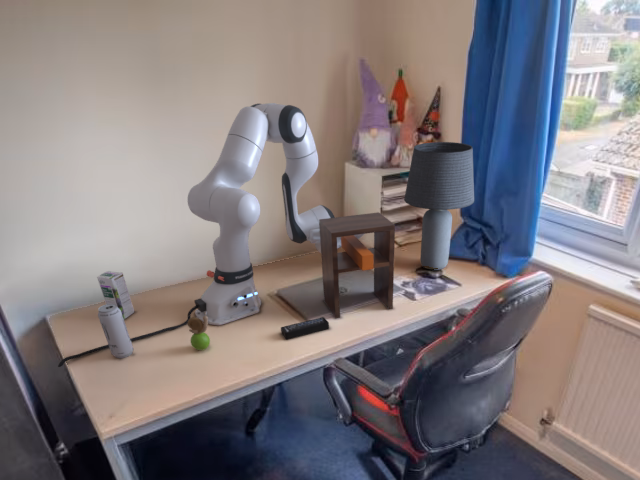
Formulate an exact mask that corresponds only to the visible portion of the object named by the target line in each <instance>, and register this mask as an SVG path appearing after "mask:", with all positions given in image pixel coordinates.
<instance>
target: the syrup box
mask: <svg viewBox="0 0 640 480" xmlns="http://www.w3.org/2000/svg"><path fill="white" fill-rule="evenodd" d="M96 278H97V281H98V285H99V287H100V290H101V293H102V296H103V299H104V302H105V305H106V304H115V305H117V307H118V308H119V309H120V310H121V313H122V316H123V319H124V320H126V319H127V318H129V317H130V316H132V315H133V314H134V313H135V309H134V306H133V302H132V299H131V295H130V292H129V289H128V285H127V281H126V279H125V275H124V273H123V272H121V271H120V272H119V271H111V270H108V271H105V272H103V273H101V274H99V275H98V276H96Z"/></svg>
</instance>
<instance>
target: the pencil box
mask: <svg viewBox="0 0 640 480" xmlns="http://www.w3.org/2000/svg"><path fill="white" fill-rule="evenodd" d="M341 248H342V250H343V252H346V253H347V254H348V255H349V256H350V257H351V258H352V260H353V261H354V262H355V263H356V264H357V265H358V266H359V267H360V268H361V270H360V271H369V270H370V271H371V270H374V268H373V257H374V255H373V254H372V253H371V252H370V251H369V250H368V248H367V246H365V244H363V242H362V241H360V239H357V238H356V237H355V236H354V235H351V236H344V237H341Z"/></svg>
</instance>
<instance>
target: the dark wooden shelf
mask: <svg viewBox="0 0 640 480" xmlns="http://www.w3.org/2000/svg"><path fill="white" fill-rule="evenodd" d="M319 225H320V241H321V253H320V255H321V268H322V269H321V270H322V271H321V272H322V285H323V286H322V287H323V301H324V303H325V305H326V306H327V307H328V309H329V311H330V312H331V315H333V317H334V318H335V319H341V307H340V281H339V274H342V273H350V272H357V271H362V270H361V268H360V267H359V266H358V265H357V264H356V263H355V262H354V261H353V260H352V258H351V257H350V256H349V255H348V254H347V253H346V252H345V251H340V252H338V249H337V237H344V236H351V235H359V234H364V235H365V234H373V247H368V248H367V249H368V250H369V251H370V252H371V253H372V254H373V255H374V257H373V293H374V295H375V296H376V297H377V298H378V299H379V301H380V302H381V303H382V304H383V305H384V306H385V307H386V309H387V310H393V308H394V278H395V277H394V276H395V275H394V273H395V240H396V237H395V236H396V224H395V223H393V222H392V221H391V220H390V219H388V218H387V217H385V215H383V214H382V213H380V212H379V211H377V212H371V213H362V214H354V215H353V214H352V215H345V216H338V217H337V216H336V217H335V218H328V219H319Z"/></svg>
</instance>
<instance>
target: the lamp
mask: <svg viewBox="0 0 640 480" xmlns="http://www.w3.org/2000/svg"><path fill="white" fill-rule="evenodd" d="M473 150H474V149H473V146H472V145H470V144H467V143H462V142H453V141H432V142H423V143H419V144H415V145H414V147H413V151H412V156H411V161H410V166H409V172H408V178H407V183H406V188H405V194H404V199H403V201H404V202H405V203H406V204H407V205H409V206H412V207H415V208H418V209H424V210H426V211H425V212H424V213H423V216H422V224H421V225H422V226H421V243H420V244H421V245H420V259H419V260H420V265H421V266H422V267H423V266H429V267H433V268H438V269H434V270H433V271H441V270H443V269H444V268H446V267H447V266H448V263H449V257H450V247H451V239H452V238H451V237H452V236H451V235H452V224H453V214H452V213H451V211H450V210H458V209H464V208H466V207H470V206H471V205H473V204H474V203H475V181H474V151H473Z"/></svg>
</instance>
